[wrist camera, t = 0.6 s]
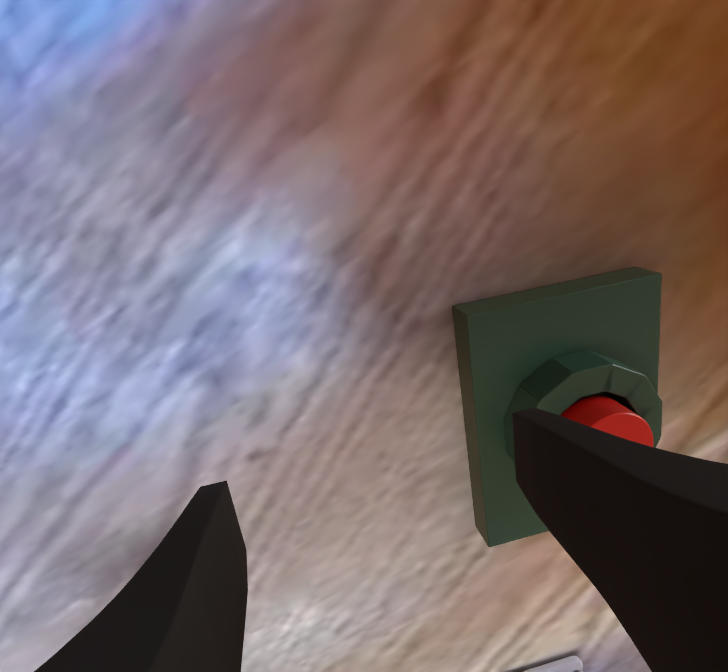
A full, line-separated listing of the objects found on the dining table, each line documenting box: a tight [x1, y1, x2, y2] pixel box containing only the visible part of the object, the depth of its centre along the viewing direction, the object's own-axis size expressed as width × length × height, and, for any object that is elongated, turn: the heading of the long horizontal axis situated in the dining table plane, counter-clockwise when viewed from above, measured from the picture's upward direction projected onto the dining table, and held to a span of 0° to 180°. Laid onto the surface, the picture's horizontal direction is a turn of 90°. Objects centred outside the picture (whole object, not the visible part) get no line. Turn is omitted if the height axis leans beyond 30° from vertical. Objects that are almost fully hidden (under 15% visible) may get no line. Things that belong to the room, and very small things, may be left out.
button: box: [561, 396, 654, 447], centre depth 21 cm, size 4×4×2 cm
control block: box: [452, 267, 662, 547], centre depth 23 cm, size 12×9×4 cm
